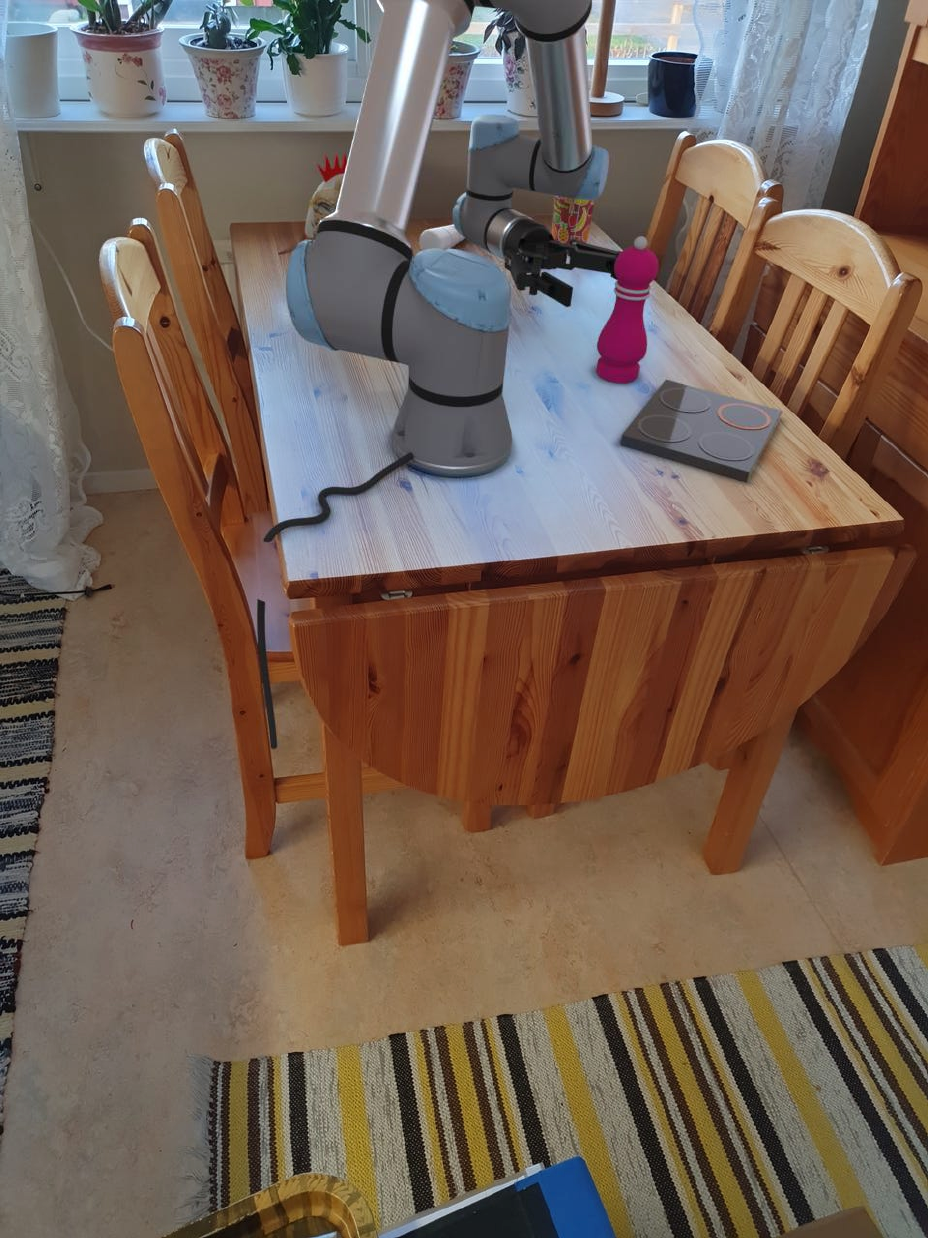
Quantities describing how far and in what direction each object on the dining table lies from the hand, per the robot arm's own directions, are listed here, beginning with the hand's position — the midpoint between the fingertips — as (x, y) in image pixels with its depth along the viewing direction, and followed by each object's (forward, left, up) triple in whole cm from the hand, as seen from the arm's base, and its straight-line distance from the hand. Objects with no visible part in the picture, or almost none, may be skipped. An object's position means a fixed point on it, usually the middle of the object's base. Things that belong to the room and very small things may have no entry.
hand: (606, 289), depth 133 cm
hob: (-13, -20, -11) cm, 26 cm away
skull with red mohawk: (+20, +59, -11) cm, 63 cm away
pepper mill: (-3, -4, -11) cm, 12 cm away
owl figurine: (+5, +47, -11) cm, 48 cm away
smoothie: (+44, +23, -11) cm, 51 cm away
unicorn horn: (+33, +42, -11) cm, 55 cm away
